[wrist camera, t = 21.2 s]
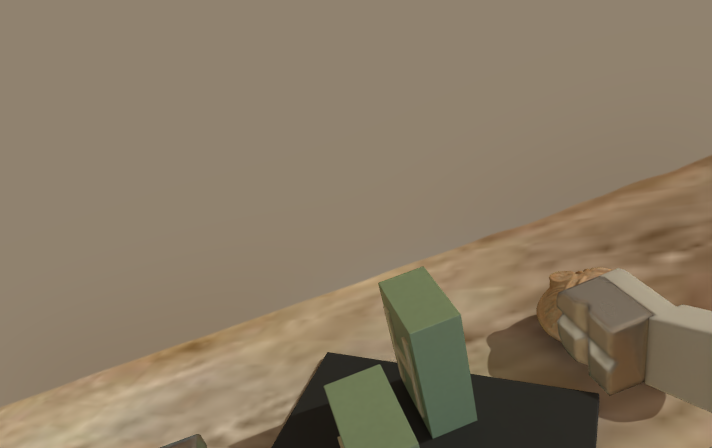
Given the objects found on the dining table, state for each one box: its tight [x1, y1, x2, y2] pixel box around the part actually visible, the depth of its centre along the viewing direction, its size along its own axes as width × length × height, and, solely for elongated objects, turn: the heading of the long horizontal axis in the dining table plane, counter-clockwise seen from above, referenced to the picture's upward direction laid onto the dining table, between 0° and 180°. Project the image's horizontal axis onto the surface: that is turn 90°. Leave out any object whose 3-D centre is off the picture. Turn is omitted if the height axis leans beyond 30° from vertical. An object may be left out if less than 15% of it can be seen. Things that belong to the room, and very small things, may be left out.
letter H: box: [378, 267, 477, 439], centre depth 39 cm, size 4×6×10 cm, turn 17°
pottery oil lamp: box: [537, 267, 612, 342], centre depth 41 cm, size 9×12×7 cm
